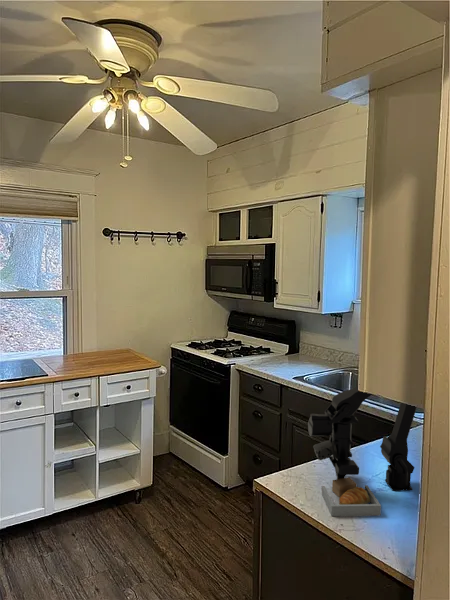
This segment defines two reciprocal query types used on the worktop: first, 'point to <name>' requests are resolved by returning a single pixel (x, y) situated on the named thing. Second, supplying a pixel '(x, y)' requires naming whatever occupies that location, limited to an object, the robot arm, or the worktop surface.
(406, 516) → the worktop surface
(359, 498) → the pastry
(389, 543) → the worktop surface
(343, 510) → the bay
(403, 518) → the worktop surface
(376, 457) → the worktop surface
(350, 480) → the cardboard brown box
